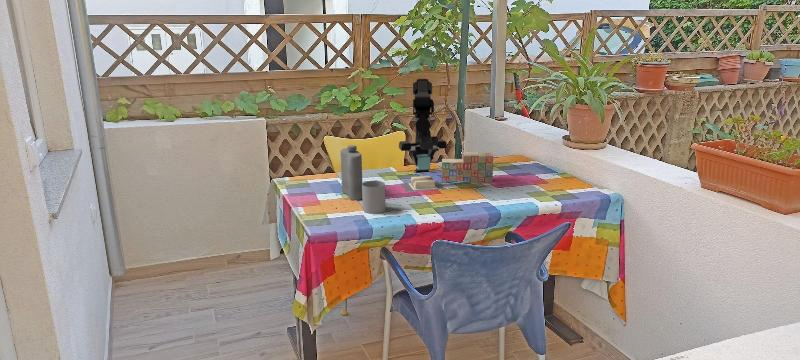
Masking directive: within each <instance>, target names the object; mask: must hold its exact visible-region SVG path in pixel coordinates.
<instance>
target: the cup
mask: <svg viewBox="0 0 800 360" xmlns="http://www.w3.org/2000/svg"><path fill="white" fill-rule="evenodd" d="M386 210H387V208H386V182H384V181H381V180H368V181H364V182H362V212H363V211H364V212H363V213H365V214H368V213H369V214H371V215H375V214H376V215H377V214H382V213H385V212H386Z"/></svg>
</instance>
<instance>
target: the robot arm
mask: <svg viewBox="0 0 800 360" xmlns="http://www.w3.org/2000/svg"><path fill="white" fill-rule="evenodd" d="M412 95H414V98H413V99H412V115H413V116H415V123H414V124H415V129H414V130H415V131H414V132H415V140H414V141H415V142H410V141H409V140H403V141H399V142H398V149H399V150H400V151H401V152H406V151H407V152H408V153H410V155H411V156H412V161H413V162H414V164H415V165H416V166H417V155H424V154H427V155H429V156H430V165H432V161H433V160H434V156H435V154H436V152H438V151H439V150H441V149H447V148H448V143H447V141H446V140H444V139H443V138H439V137H438V136H436V135H434V136H432V133H431V116H432V115H433V113H435V101H434V100H433V98H432V97H431V95H433V83H432V82H430V81H429V79H428V78H417V79H416V81H415V82H413V83H412ZM413 171H414V173H415V174H425V173H426V174H427V173H431V171H430V169H426V170H418V169H417V168H416V167H415V169H413Z"/></svg>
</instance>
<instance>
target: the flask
mask: <svg viewBox="0 0 800 360" xmlns="http://www.w3.org/2000/svg"><path fill="white" fill-rule="evenodd" d="M357 147H358V146H357V145H356V144H351V145H350V144H349V145H348V146H347V147H346V148H342V149H340V151H339V152H340V172H341V173H340V175H341V176H340V177H341V192H342V193H343V194H345V195H347V196H348V198H349V199H350V200H351V201H354V200H357V201H360V200H363V198H362V183H363V162H362V161H363V158H362V153H361V152H360V151H358V150H357V149H358V148H357Z"/></svg>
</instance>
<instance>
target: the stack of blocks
mask: <svg viewBox="0 0 800 360" xmlns="http://www.w3.org/2000/svg"><path fill="white" fill-rule="evenodd" d="M493 171H494V153H493V152H484V151H483V152H481V151H478V152H476V151H475V152H470V151H469V152H467V151H465V152H463V153H462V158H442V159H441V182H468V183H469V184H473V185H474V184H477V185H481V184H482V185H484V184H485V185H493V174H494V172H493Z"/></svg>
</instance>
